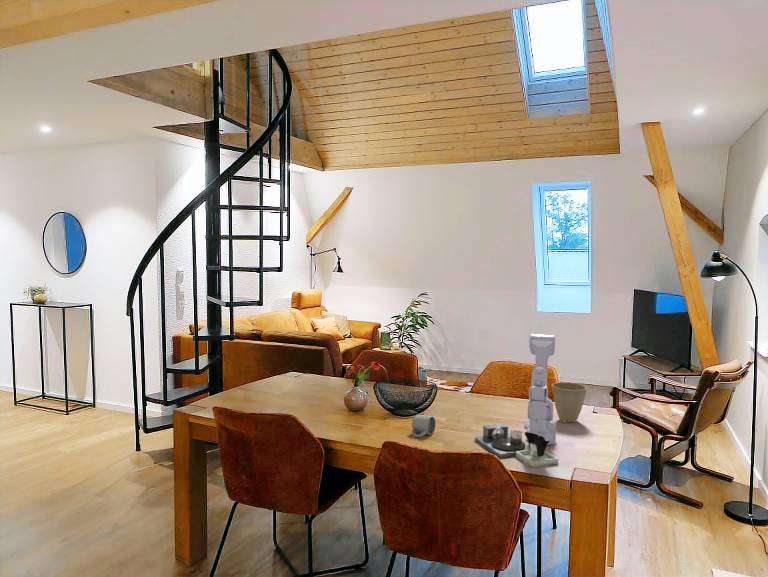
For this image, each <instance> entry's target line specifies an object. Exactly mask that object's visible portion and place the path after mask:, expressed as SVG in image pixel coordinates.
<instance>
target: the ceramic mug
mask: <svg viewBox="0 0 768 577" xmlns="http://www.w3.org/2000/svg"><path fill="white" fill-rule="evenodd" d="M436 425H437V424H436V419H435V416H433V415H423V414H418V415H415V416H414V417H413V418H412V422H411V428H412V429H411V430H412V431H411V434H412V436H413V437H415V438H421V437H424V436H425V435H428V436H431V435H433V434H434V433H435V430H436Z"/></svg>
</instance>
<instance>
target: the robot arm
mask: <svg viewBox="0 0 768 577" xmlns="http://www.w3.org/2000/svg"><path fill="white" fill-rule="evenodd" d="M528 339H529V341H528V342H529V344H528V346H529V351H530V354H532V355H534V356H535V368H533V370H531V379H530V380H531V381H530V387H529V388H528V399H529V400H528V403H527V404H528V405H527V418H528V420H529V422H528V423H523V424H524V425H523V427H524V430H526V431H525V432H524V435H525V437H526V439H525V441H527V444H528V445H529V448H530V442H536V446H537V455H538V456H539V457H540V456H543V455H544V452H545V451H546V449H547V446H550V445H557V444H558V443H557V441H556V440H557V438H556V436H557V426H556V423H555V422H554V403H553V401H552V400H551V399H550V398H549V397H548V395H549V390H548V375H549V374H548V364H549V363H548V361H549V358H550V357H552V356H554V354H555V351H556V350H555V349H556V336H555V335H554V334H536V333H535V334H533V333H531V334H530V335H529V338H528Z"/></svg>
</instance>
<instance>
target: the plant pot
mask: <svg viewBox="0 0 768 577" xmlns="http://www.w3.org/2000/svg"><path fill="white" fill-rule="evenodd" d="M551 388H552V395H553V402H554V405H555V410H556V413H557V417H558V419H560V420H561V422H562V421H565V422H564V423H567V422H574V423H576V422H577V421H578V419H579V416H580V414H581V411H582V409H583V405H584V402H585V399H586V393H587V386H585V385H583V384H580V383H576V382H563V381H561V382H554V383H552V384H551ZM560 420H559V421H560ZM575 421H576V422H575Z"/></svg>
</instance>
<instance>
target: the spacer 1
mask: <svg viewBox="0 0 768 577" xmlns="http://www.w3.org/2000/svg"><path fill="white" fill-rule="evenodd" d="M510 434H511V435H510V442H511V443H513V444H521V443H522V441H523V431H522V430H521V429H518V428H517V429H516V428H514V429H513V428H512V429H510Z"/></svg>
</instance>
